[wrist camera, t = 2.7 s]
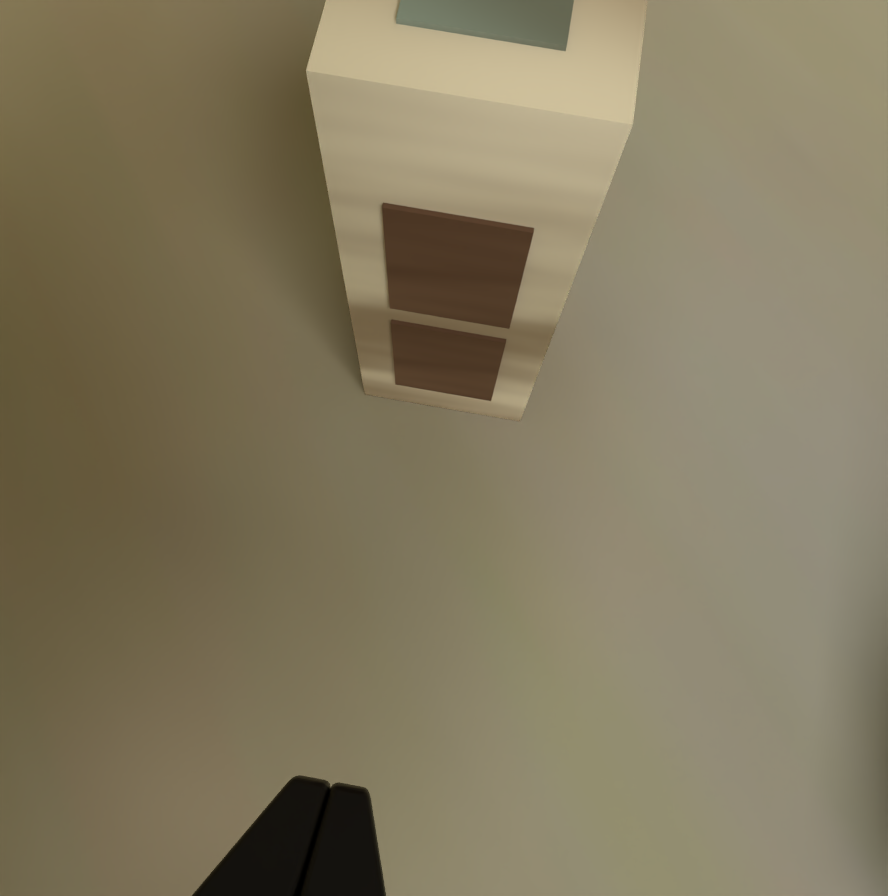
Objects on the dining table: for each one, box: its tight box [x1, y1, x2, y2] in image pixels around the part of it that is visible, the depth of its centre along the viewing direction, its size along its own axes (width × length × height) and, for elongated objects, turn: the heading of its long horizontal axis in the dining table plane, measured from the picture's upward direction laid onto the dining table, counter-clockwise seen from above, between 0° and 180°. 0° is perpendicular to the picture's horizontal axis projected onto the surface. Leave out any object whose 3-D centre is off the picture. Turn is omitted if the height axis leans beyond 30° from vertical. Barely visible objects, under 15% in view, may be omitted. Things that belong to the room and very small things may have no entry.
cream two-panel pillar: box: [306, 0, 648, 421], centre depth 17 cm, size 5×4×12 cm
